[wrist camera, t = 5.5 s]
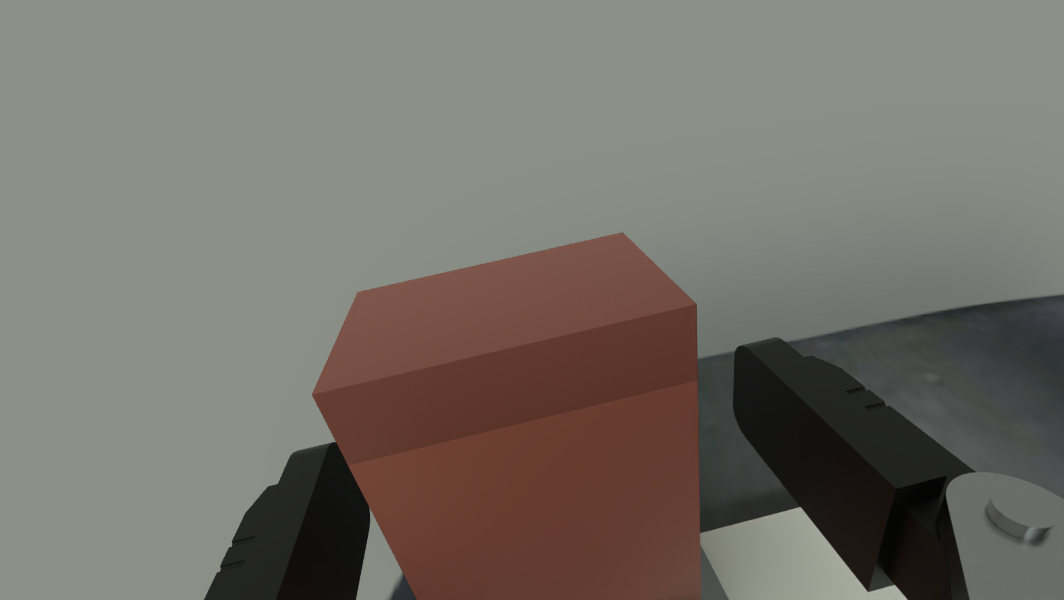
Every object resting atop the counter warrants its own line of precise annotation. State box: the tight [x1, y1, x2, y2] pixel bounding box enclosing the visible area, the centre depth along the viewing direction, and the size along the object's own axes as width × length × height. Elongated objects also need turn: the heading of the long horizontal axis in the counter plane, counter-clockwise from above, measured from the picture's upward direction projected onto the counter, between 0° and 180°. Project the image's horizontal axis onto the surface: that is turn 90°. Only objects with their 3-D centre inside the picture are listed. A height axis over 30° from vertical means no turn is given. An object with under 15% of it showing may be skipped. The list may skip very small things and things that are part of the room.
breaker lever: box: [312, 233, 701, 600], centre depth 9 cm, size 4×3×13 cm
